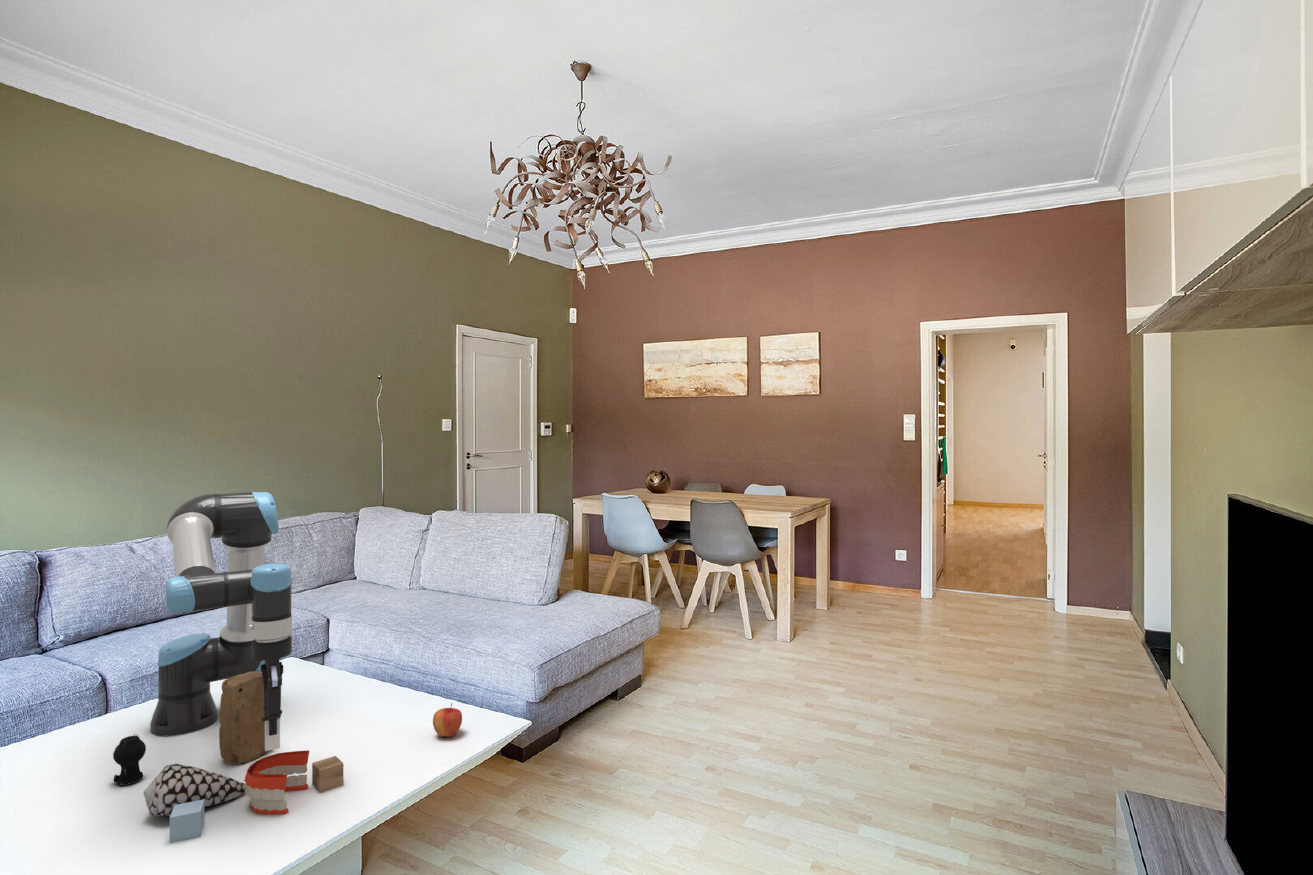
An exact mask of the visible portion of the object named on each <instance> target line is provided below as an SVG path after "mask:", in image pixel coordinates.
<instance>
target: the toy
mask: <svg viewBox="0 0 1313 875" xmlns="http://www.w3.org/2000/svg"><path fill="white" fill-rule="evenodd" d="M309 755H310V750H307V749H306V750H295V751H286V752H279V753H274V754H271V755H268V756H266V757H263V758H260V759H256V760H255V762H253V763H251V764H250V765H249V767H248V768H247V770H246V773H245V777H244V783H246V790H245V795H246V796H247V797H248V798H249V799H250V804H249V806H250V808H251V809H253V811H255V812H256V813H258V814H261V815H286V814H288V813H289V808H288V806H287V804H288V803H287V798H285V792H286V793H287V792H295V791H304V790H308V789H309V784H307V780H308V778H307V777H308V775H307V774H306V773H307V771H308V762H309ZM295 774H296V775H295ZM288 775H289V776H288Z"/></svg>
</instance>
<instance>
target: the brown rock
mask: <svg viewBox="0 0 1313 875" xmlns="http://www.w3.org/2000/svg"><path fill="white" fill-rule="evenodd" d="M221 692H222V693H221V696H220V704H219V724H220V727H219V730H218V734H219V735H218V736H219V737H218V739H219V751H220V752H219V753H220V757H221V759H222V760H223V761H224V762H225V763H226V764H229V765H240V764H245V763H246V762H247V763H249V762H252V761H255V760H257V759H259V757H262V756H264V755H265V754H267V753H268V752H269V750H268V751H265V721H263V722H262V718H263V717H265V715H264V713H265V711H264V687H263V683H262V673H261V672H252V671H251V672H247V673H245V674H240V675H236V676H234V677H231V678H228V679H224V680H222V683H221ZM263 754H264V755H263ZM261 755H262V756H261ZM256 758H257V759H256ZM254 759H255V760H254ZM247 763H246V764H247Z"/></svg>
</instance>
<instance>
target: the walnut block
mask: <svg viewBox="0 0 1313 875" xmlns="http://www.w3.org/2000/svg"><path fill="white" fill-rule="evenodd" d="M311 767H312V768H311V769H312V772H311V774H312V775H311V776H312V777H311V780H312V781H311V784H312V786H313V787H314V788H315V790H316V791H317V792H318V793H319V794H321V793H324V792H327V791H330V790H332V789H335V788H338V787H342V786H344V762H343V761H342V760H341V759H340V758H339V757H338V756H336V755H333V756H330V757H327V758H325V759H319V760H317V761H314V762H312V763H311Z"/></svg>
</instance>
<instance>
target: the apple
mask: <svg viewBox="0 0 1313 875" xmlns="http://www.w3.org/2000/svg"><path fill="white" fill-rule="evenodd" d="M452 706H453V703H452V702H451V705H450V707H444V708H443V707H442V708H440V709H438V710H436V711H435V712H434V714H433V717H432V725H433V730H434V731H435V733H436V734H437V735H438V737H440V736H443V737H447V738H452V737H454V736H455V735H456V734H457V733H458V731H459V730H460V729H461V726H462V722H463V714H462V711H461V710H460V709H458V708H456V707H452Z"/></svg>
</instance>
